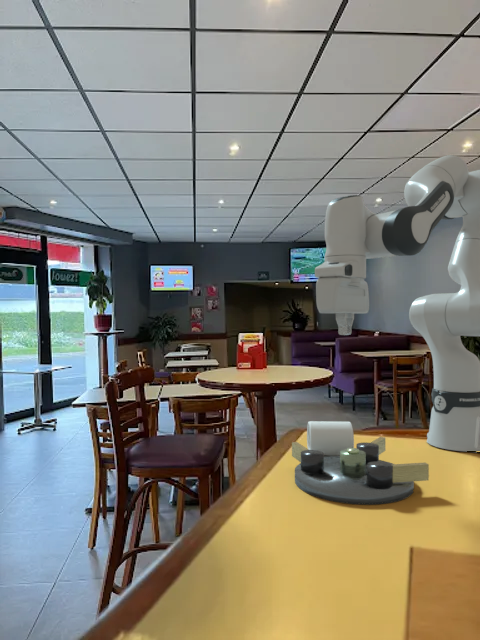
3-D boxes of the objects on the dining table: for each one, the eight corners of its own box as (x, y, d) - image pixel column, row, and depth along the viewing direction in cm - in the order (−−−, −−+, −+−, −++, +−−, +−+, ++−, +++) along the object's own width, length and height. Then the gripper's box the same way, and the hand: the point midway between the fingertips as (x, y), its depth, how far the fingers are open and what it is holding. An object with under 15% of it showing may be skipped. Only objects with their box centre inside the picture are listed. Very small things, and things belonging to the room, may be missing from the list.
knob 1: (327, 472, 98) (327, 455, 98) (306, 474, 97) (306, 457, 97) (304, 455, 109) (304, 440, 109) (284, 457, 108) (284, 442, 108)
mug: (354, 460, 114) (354, 425, 114) (310, 460, 114) (310, 425, 114) (344, 446, 126) (344, 415, 126) (305, 446, 126) (305, 414, 126)
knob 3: (373, 488, 89) (373, 469, 89) (362, 480, 93) (362, 462, 93) (433, 484, 91) (433, 466, 91) (420, 476, 96) (420, 458, 96)
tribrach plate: (362, 459, 114) (362, 431, 114) (440, 492, 93) (440, 457, 93) (274, 473, 104) (274, 442, 104) (339, 513, 84) (339, 474, 84)
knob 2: (374, 465, 102) (374, 449, 102) (353, 462, 105) (353, 446, 105) (392, 452, 112) (392, 437, 112) (373, 449, 114) (373, 434, 114)
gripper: (350, 274, 118) (350, 333, 118) (310, 268, 101) (310, 336, 101) (376, 273, 114) (376, 333, 114) (339, 266, 97) (339, 336, 97)
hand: (344, 334), depth 107 cm, fingers closed
